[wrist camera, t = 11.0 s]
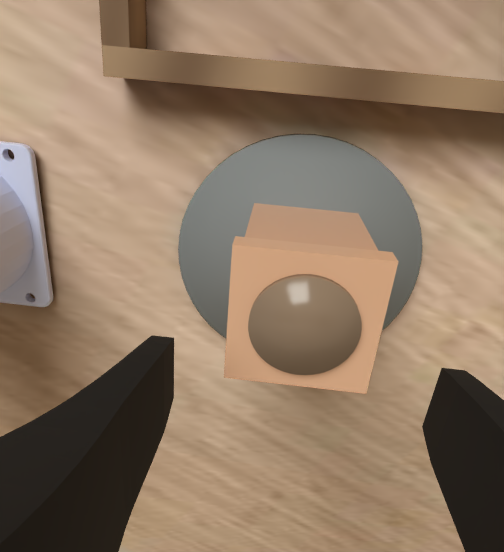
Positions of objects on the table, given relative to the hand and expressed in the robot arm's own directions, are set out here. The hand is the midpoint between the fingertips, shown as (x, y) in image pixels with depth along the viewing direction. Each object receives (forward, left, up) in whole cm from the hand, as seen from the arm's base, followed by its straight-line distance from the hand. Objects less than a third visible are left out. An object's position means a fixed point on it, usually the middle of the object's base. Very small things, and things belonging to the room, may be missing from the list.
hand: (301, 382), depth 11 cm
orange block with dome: (0, 0, -9) cm, 9 cm away
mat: (0, 0, -9) cm, 9 cm away
